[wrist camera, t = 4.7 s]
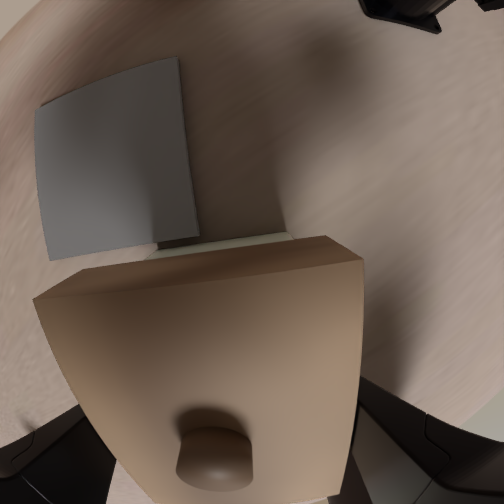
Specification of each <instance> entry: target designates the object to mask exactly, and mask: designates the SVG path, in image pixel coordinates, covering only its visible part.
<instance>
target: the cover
mask: <svg viewBox="0 0 504 504" xmlns="http://www.w3.org/2000/svg"><path fill="white" fill-rule="evenodd" d="M33 303H34V306H35V309H36V311H37V314H38V317H39V320H40V322H41V325H42V328H43V330H44V333H45V335H46V338H47V340H48V343H49V345H50V347H51V350H52V352H53V354H54V356H55V358H56V361H57V363H58V365H59V367H60V369H61V371H62V373H63V375H64V377H65V379H66V381H67V383H68V385H69V387H70V388H71V390H72V392H73V394H74V396H75V398H76V399H77V401H78V403H79V404H80V406H81V408H82V409H83V411H84V413H85V414H86V416H87V418H88V419H89V421H90V422H91V424H92V425H93V427H94V428H95V430H96V431H97V433H98V434H99V436H100V437H101V439H102V440H103V442H104V443H105V444H106V446H107V447H108V448H109V450H110V451H111V453H112V454H113V455H114V456H115V458H116V459H117V460H118V462H119V463H120V464H121V465H122V467H123V468H124V469H125V470H126V472H127V473H128V474H129V475H130V476H131V477H132V479H133V480H134V481H135V482H136V483H137V484H138V485H139V487H140V488H141V489H142V490H143V491H144V492H145V493H146V494H147V495H148V496H149V497H150V498H151V499H152V500H153V501H154V502H155V503H158V504H290V503H297V502H303V501H309V500H314V499H319V498H324V497H328V496H333V495H337V494H339V493H340V489H341V485H342V481H343V476H344V472H345V467H346V463H347V458H348V453H349V448H350V442H351V437H352V431H353V425H354V418H355V411H356V404H357V396H358V387H359V377H360V367H361V354H362V338H363V314H364V259H363V258H361V257H359V256H358V255H356V254H355V253H353V252H352V251H350V250H348V249H347V248H345V247H344V246H342V245H341V244H339V243H337V242H336V241H334V240H332V239H331V238H329V237H328V236H326V235H324V236H316V237H309V238H301V239H294V240H286V241H279V242H272V243H264V244H257V245H250V246H242V247H235V248H228V249H221V250H213V251H206V252H199V253H192V254H185V255H178V256H171V257H164V258H157V259H150V260H143V261H136V262H129V263H122V264H115V265H109V266H102V267H95V268H88V269H83V270H81V271H79V272H77V273H76V274H74V275H72V276H70V277H69V278H67V279H65V280H64V281H62V282H60V283H59V284H57V285H55V286H54V287H52V288H50V289H49V290H47V291H45V292H44V293H42V294H41V295H39V296H37V297H36V298H34V299H33Z"/></svg>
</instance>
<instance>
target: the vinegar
mask: <svg viewBox="0 0 504 504" xmlns="http://www.w3.org/2000/svg"><path fill="white" fill-rule="evenodd" d="M327 498H328V502H329V504H373V503H372V500H371V498H370V495H369V493H368V490H367V488H366V486H365V483H364V481H363V478H362V476H361V473H360V471H359V468H358V466H357V464H356V461H355V459H354V456H353V454H352V452H351V449H350V448H349V453H348V458H347V463H346V467H345V472H344V476H343V481H342V485H341V489H340V493H339V494H337V495H333V496H328V497H327Z"/></svg>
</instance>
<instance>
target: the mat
mask: <svg viewBox="0 0 504 504" xmlns="http://www.w3.org/2000/svg"><path fill="white" fill-rule="evenodd" d="M34 141H35V166H36V179H37V190H38V198H39V206H40V213H41V219H42V225H43V231H44V236H45V241H46V246H47V251H48V255H49V259H50V261H52V260H58V259H63V258H68V257H74V256H79V255H85V254H91V253H96V252H102V251H108V250H114V249H120V248H126V247H132V246H138V245H144V244H150V243H156V242H163V241H169V240H175V239H182V238H189V237H195V236H199V235H200V231H199V225H198V219H197V212H196V206H195V199H194V192H193V185H192V178H191V171H190V163H189V156H188V148H187V140H186V131H185V122H184V113H183V103H182V93H181V82H180V70H179V60H178V58H177V56H174V57H170V58H166V59H162V60H158V61H155V62H151V63H148V64H144V65H141V66H137V67H134V68H131V69H128V70H125V71H122V72H119V73H116V74H113V75H111V76H108V77H105V78H103V79H100V80H98V81H95V82H93V83H90V84H88V85H85V86H83V87H81V88H78V89H76V90H74V91H72V92H70V93H68V94H65V95H63V96H61V97H59V98H57V99H55V100H53V101H51V102H49V103H47V104H46V105H44V106H42V107H40V108H38V109H36V110H35V126H34Z"/></svg>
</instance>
